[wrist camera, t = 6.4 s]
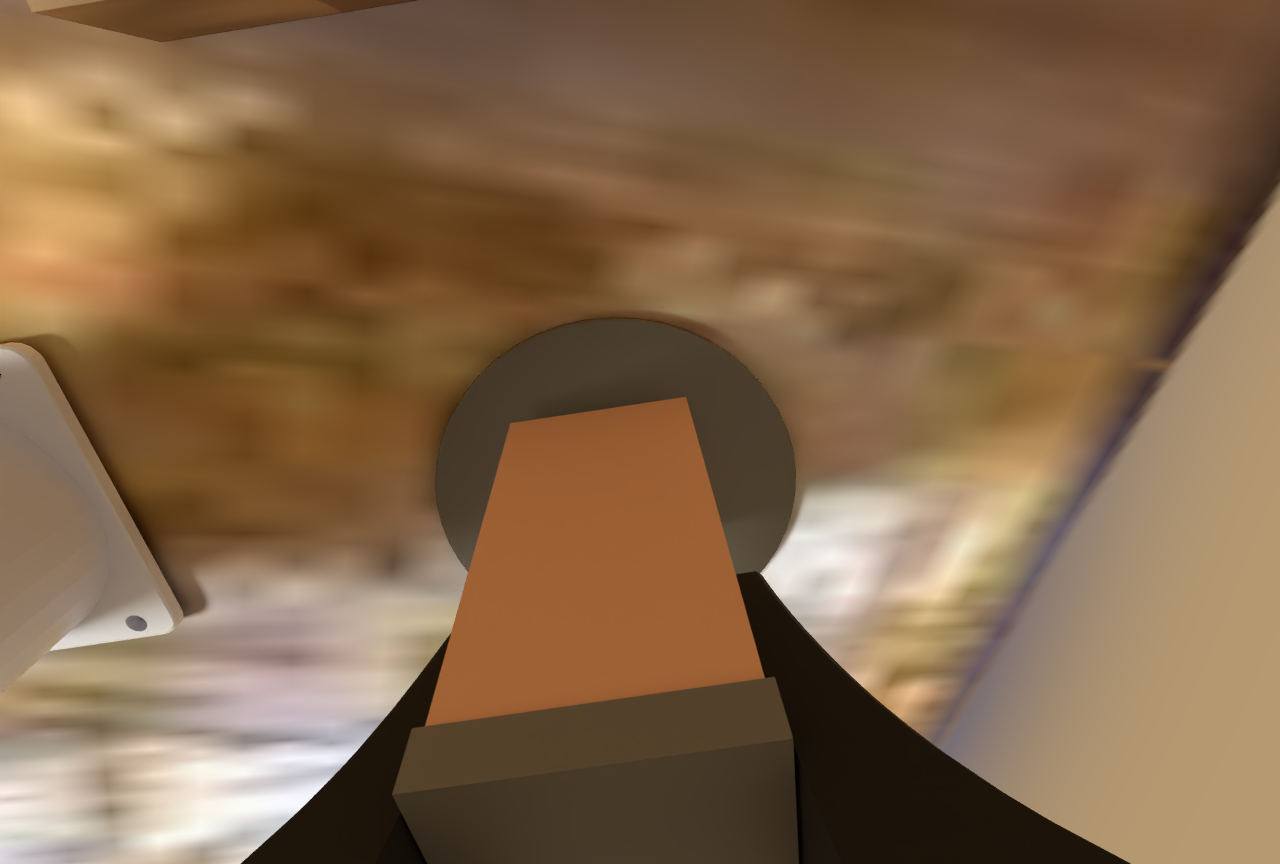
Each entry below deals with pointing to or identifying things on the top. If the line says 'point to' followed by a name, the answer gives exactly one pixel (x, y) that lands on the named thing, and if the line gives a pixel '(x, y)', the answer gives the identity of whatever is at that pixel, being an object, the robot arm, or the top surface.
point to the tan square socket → (191, 14)
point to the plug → (602, 667)
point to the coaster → (613, 377)
